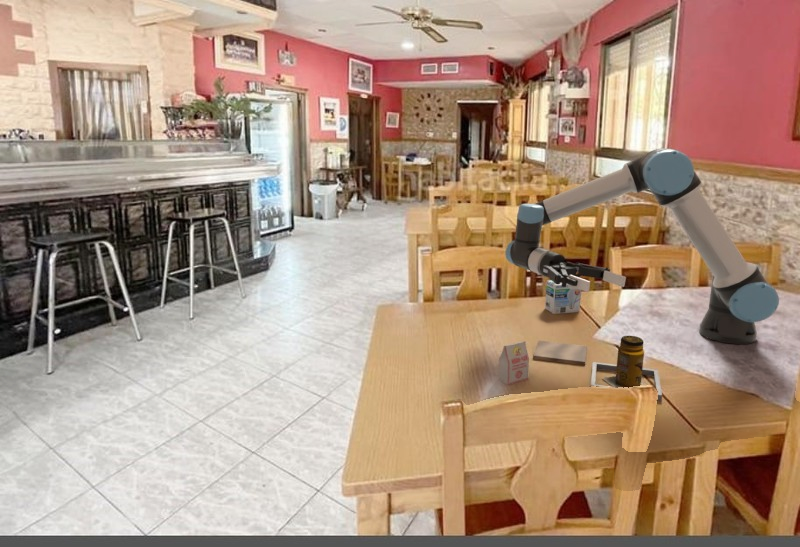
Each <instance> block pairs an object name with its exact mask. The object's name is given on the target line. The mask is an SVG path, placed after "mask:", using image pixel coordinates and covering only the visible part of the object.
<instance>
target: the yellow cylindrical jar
mask: <svg viewBox="0 0 800 547" xmlns="http://www.w3.org/2000/svg"><path fill="white" fill-rule="evenodd" d="M644 357H645V350H644V340H643V339H642V338H641V337H639V336H635V335H623V336H622V337H621V338H620V343H619V347H618V348H617V358H616V359H617V361H616V365H617V368H616V371H615V375H613V376H603V377H601V379H602V380H603V381H605V382H606V383H607V384H609V385H610V386H611V387H623V388H624V387H628V388H629V387H633V386H640V385H646V384H645V383H643V381H642V377H643V375H642V369H643V368H644Z"/></svg>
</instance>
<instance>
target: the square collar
mask: <svg viewBox="0 0 800 547" xmlns="http://www.w3.org/2000/svg"><path fill="white" fill-rule="evenodd" d="M591 368H592V370H591V379H590V387H591V386H596V387H612V386H611V385H610V386H609V385H603V384H596V377H597V370H601V371H602V370H603V371H610V372H616V368H617V364H613V363H605V362H597V361H596V362H595V361H593V362H592V367H591ZM642 376H649V377H653V383H654V384H653V385H654V388H655V387H656V389H657V391H658V402H662V401H663V392H662V387H661V386H662V385H661V381H660V374H659V369H652V368H647V367H646V368H645V367H643V369H642ZM614 388H618V387H614Z"/></svg>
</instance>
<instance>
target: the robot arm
mask: <svg viewBox="0 0 800 547" xmlns="http://www.w3.org/2000/svg"><path fill="white" fill-rule="evenodd" d="M702 184H703V183H702V181H701V179H700V178H699V176H698V174H697V173H696V172H695V170H694V164H693V162H692V160H691V159H690V158H689V156H688V155H687V154H686V153H684V152H682V151H680V150H677V149H673V148H663V147H662V148H656V149H653V150H650V151H648V152H646V153H645V154H643V155H641V156H639V157H637V158H636V159H633V160H631V161H629V162H625V163H624V164H623V166H622V168H620V169H617V170H616V171H613V172H611V173H610V172H609V173H608V174H605V175H602V176H600V177H598V178H596V179H593V180H590V181H588V182H586V183H583V184H581V185H578V186H575V187H573V188H570V189H568V190H566V191H563V192H560V193H559V194H555V195H554V196H551V197H547V198H545V199H544V200H541V201H538V202H535V203H521V204H520V205H518V210H517V215H516V226H515V236H514V240H512V241H511V242H509V243H508V244H507V247H506V248H505V255H504V256H505V258H506V261H508V262H509V263H511V264H512V265H515V267H518V268H522V269H525V270H527V271H530V272H532V273H536V274H537V276H543V277H545V278H548V279H549V280H552V281H553V282H554V283H555V284H560V282H562V287H566V284H568V285H569V286H572V287H575V288H577V289H580V290H581V291H582V292H586V293H589V292H590V286H591V281H590V280H587V279H584V278H581V277H588V278H593V279H595V278H596V279H601V280H602V281H604V282H607V283H609V284H613V285H615V286H618V287H621V288H624V287H625V284H626V279H627V277H626V276H625V275H622V274H618V273H614V272H612V271H611V269H610V268H609V267H608V266H607V267H603V266H601V267H600V266H596V265H590V264H587V263H586V264H585V263H583V262H582V263H581V262H578V261H576V262H575V263H573V262H572V261H567V259H566V257H565V256H564V255H563V254H561V253H558V252H554V251H552V250H548V249H546V248H544V247H540V241H541V234H542V228H543V227H544V226H545V225H548V224H551V223H553V222H555V221H557V220H558V221H559V220H561V219H562V218H566V217H569V216H570V215H573V214H577V213H579V212H581V211H584V210H586V209H589V208H592V207H594V206H597V205H599V204H602V203H605V202H608V201H611V200H613V199H616V198H619V197H621V196H623V195H627V194H629V193H633V194H638V193H641V192H644V191H647V190H649V191H650V192H651V194H652V195H653V197H654V198H655V200H656V201H657V202H658V204H659V206H660V207H663V208H668V209H669V210H670V212H672V213H671V214H673V216H674V217H675V219H676V221H677V222H678V224H679V225H680V227H681V228H682V230H683V231H684V233H685V234H686V236H687V238H688V239H689V240H690V242H691V243H692V245H693V247H694V248H695V249H696V251H697V253H698V254H699V256H700V257H701V259H702V260H703V261H704V263H705V264H706V266H707V268H708V269H709V271H710V272H711V274H712V280H711V286H710V296H709V304H708V308H707V311H706V313H705V314H704V316H703V318H702V320H701V322H700V324H699V332H698V333H699V334H700V335H701V336H703V337H705V338H708V339H709V340H712V341H716V342H720V343H726V344H734V345H735V344H736V345H747V344H751V343H755V342H756V340H757V334H758V332H757V329H756V323H759V322H762V321H766V320H767V319H768V318H770V317H771V316H772V315H773V314H774V313H775V312H776V311H777V309H778V308H779V304H780V297H779V293H778V292H777V290H776V289H775V287H773V286H772V285H771V284H769V283H768V281H767V279H766V278H765V277H764V275H763V274H762V272H761V271H760V266H759V265H758V264H754V263H751V262H747V261H746V260H745V258H744V256H743V255H742V254H741V252H740V250H739V248H738V247H737V246H736V245H735V242H734V241H733V239H732V238H731V237H730V235H729V233H728V232H727V230H726V229H725V227H724V226H723V224H722V223H721V222H720V220H719V218H718V216H717V215H716V214H715V212H714V210H713V209H712V207H711V206H710V204H709V203H708V201H707V200H706V198H705V197H704V196H703V194H702V192H701V187H702Z"/></svg>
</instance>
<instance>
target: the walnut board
mask: <svg viewBox="0 0 800 547" xmlns="http://www.w3.org/2000/svg"><path fill="white" fill-rule="evenodd" d="M587 351H588V346H587V345H582V344H581V345H580V344H572V343H565V342H564V343H563V342H555V341H544V340H538V342H537V344H536V346H535V350H534V352H533V355H532V359H533V360H540V361H541V360H542V361H547V362H555V363H557V362H558V363H565V364H571V365H572V364H573V365H578V366H579V365H580V366H586V360H587V353H588V352H587Z"/></svg>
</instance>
